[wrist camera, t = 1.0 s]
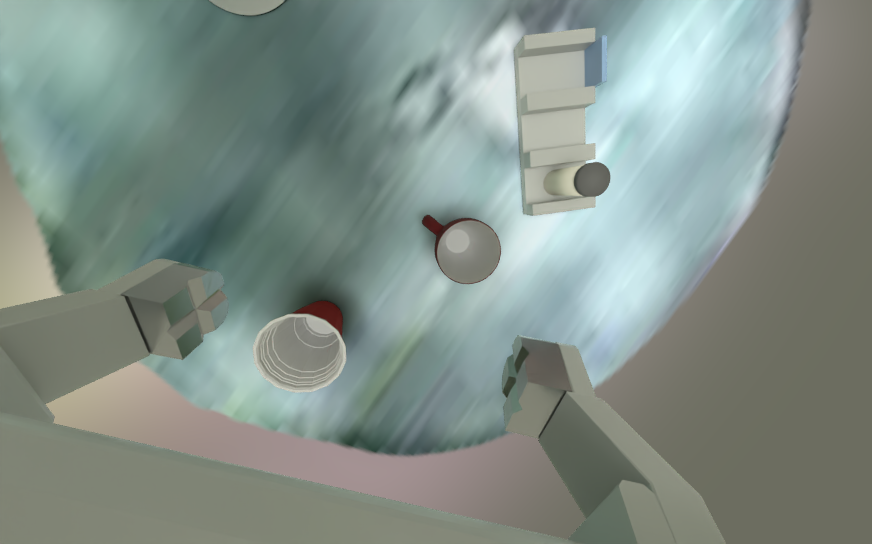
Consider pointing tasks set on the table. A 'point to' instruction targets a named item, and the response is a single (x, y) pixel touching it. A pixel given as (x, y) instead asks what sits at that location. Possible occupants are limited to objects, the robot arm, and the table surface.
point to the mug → (465, 249)
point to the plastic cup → (302, 348)
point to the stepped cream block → (555, 110)
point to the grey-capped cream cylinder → (578, 180)
